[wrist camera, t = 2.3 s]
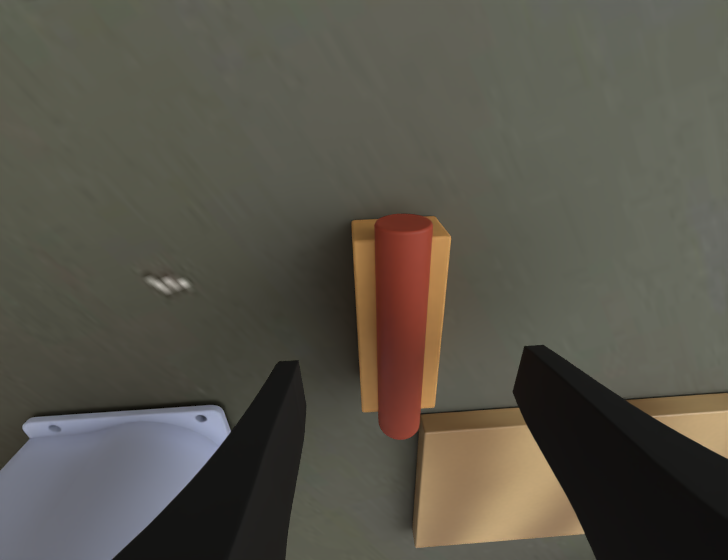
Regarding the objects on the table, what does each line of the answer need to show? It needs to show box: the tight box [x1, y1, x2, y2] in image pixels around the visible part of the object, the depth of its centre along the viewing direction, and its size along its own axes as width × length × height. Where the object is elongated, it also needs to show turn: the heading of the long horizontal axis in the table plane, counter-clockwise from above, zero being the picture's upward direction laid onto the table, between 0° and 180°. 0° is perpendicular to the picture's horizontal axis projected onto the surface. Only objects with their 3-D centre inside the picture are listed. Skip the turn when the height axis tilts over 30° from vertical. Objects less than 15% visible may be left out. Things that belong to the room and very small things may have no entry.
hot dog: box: [351, 214, 451, 440], centre depth 13 cm, size 3×9×3 cm, turn 2°
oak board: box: [412, 393, 728, 548], centre depth 20 cm, size 20×12×1 cm, turn 92°
